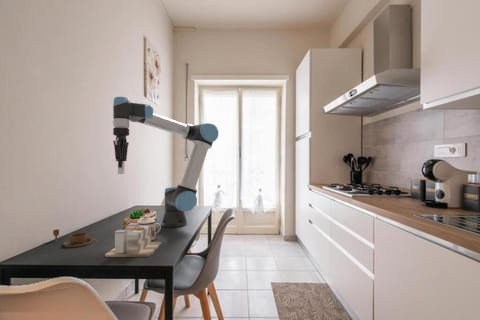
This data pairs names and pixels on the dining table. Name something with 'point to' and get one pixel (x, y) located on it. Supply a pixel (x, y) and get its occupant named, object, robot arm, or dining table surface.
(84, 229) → the dining table surface
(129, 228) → the key terracotta
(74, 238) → the place setting
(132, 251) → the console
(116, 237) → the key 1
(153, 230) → the teacup with lid
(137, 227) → the key
